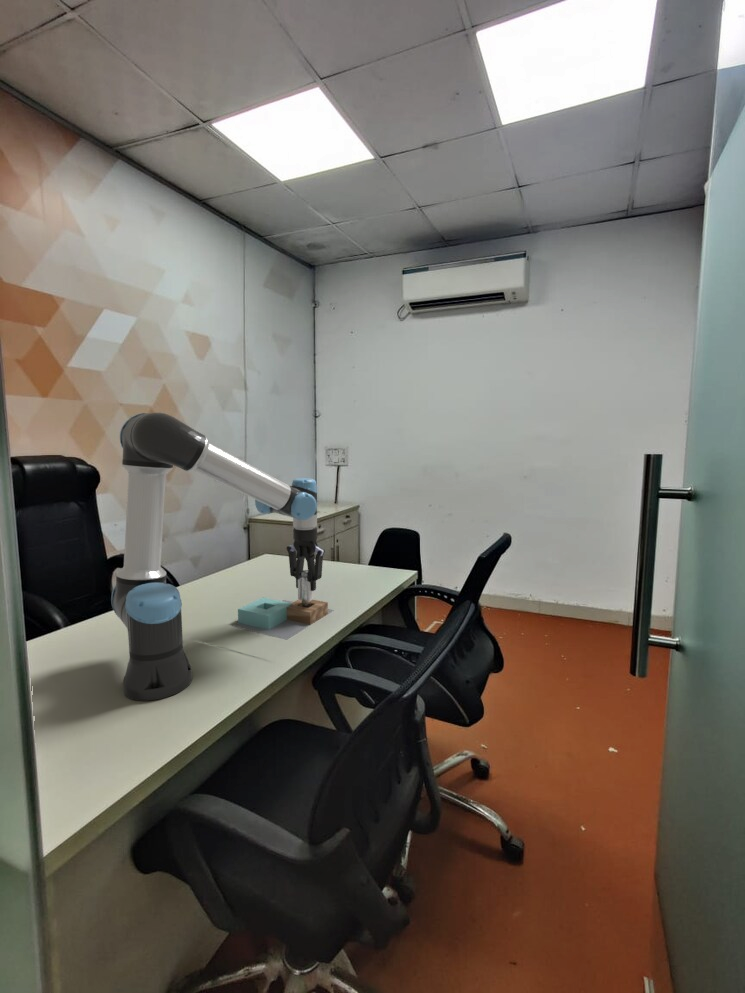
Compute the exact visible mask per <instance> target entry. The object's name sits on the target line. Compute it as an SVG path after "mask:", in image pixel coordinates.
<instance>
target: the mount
mask: <svg viewBox="0 0 745 993" xmlns="http://www.w3.org/2000/svg"><path fill="white" fill-rule="evenodd" d="M292 602H293V603H292V605H291V606H289V607H287V620H291V621H295V622H300V623H304V624H309V625H310V626H311V625H313V624H315V623H316V622H318V621H319V620H321V619H323V618H324V617H326V616H327V615H329V614H328V609H329V605H328V604H329V602H327V601H323V600H317V599H313V600H311V607H309V608H305V607H302V601H301V599H296V600H295V601H292ZM322 617H323V618H322ZM314 622H315V623H314Z"/></svg>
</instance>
